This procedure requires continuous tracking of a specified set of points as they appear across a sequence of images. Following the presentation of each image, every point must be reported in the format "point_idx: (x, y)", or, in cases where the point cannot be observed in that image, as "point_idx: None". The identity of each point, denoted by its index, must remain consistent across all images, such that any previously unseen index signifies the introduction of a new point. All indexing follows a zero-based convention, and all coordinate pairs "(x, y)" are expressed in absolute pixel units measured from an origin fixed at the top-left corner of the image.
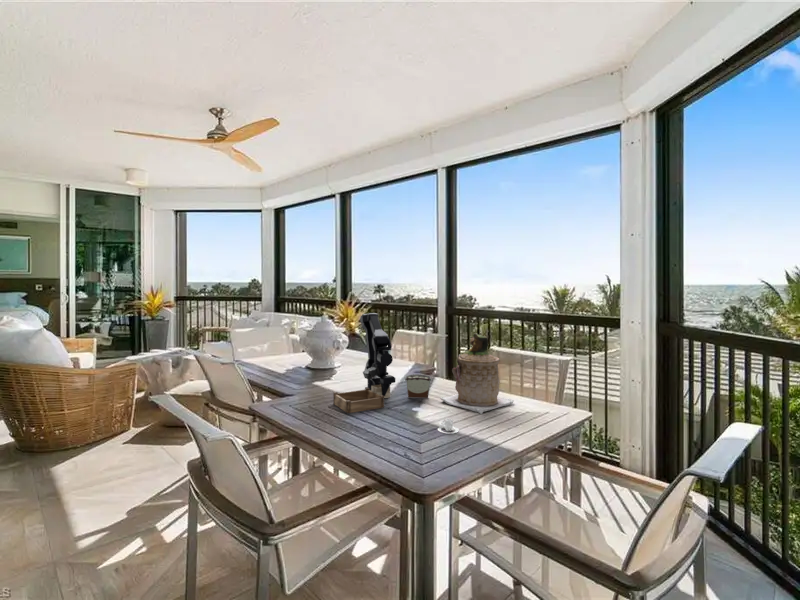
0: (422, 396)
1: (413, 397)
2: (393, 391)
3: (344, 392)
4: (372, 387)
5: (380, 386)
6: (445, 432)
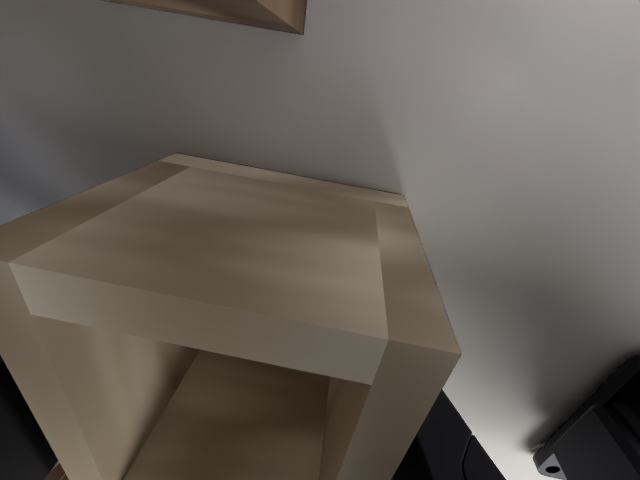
0: (50, 474)
1: None
2: None
3: None
4: (334, 296)
5: (327, 466)
6: None
